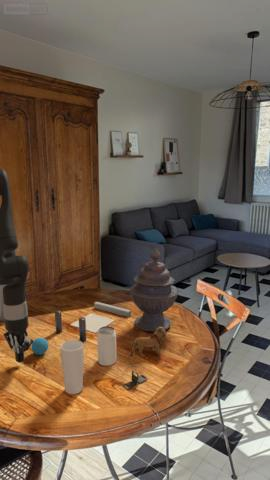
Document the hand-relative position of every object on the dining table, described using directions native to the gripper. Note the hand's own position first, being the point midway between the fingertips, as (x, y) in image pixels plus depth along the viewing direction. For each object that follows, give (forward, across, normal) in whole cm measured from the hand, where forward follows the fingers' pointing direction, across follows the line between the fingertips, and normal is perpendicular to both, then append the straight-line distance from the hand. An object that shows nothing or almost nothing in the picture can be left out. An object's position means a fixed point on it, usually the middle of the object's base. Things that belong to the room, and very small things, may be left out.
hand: (20, 361), depth 119 cm
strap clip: (+2, +39, +13) cm, 41 cm away
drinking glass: (+2, +25, 0) cm, 25 cm away
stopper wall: (+2, 0, +53) cm, 53 cm away
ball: (-2, 0, +9) cm, 9 cm away
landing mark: (+2, 0, +39) cm, 39 cm away
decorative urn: (+2, +24, +51) cm, 56 cm away
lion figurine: (+2, +33, +31) cm, 46 cm away
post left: (+2, -6, +25) cm, 26 cm away
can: (+2, +24, +18) cm, 30 cm away
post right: (+2, +7, +25) cm, 26 cm away
